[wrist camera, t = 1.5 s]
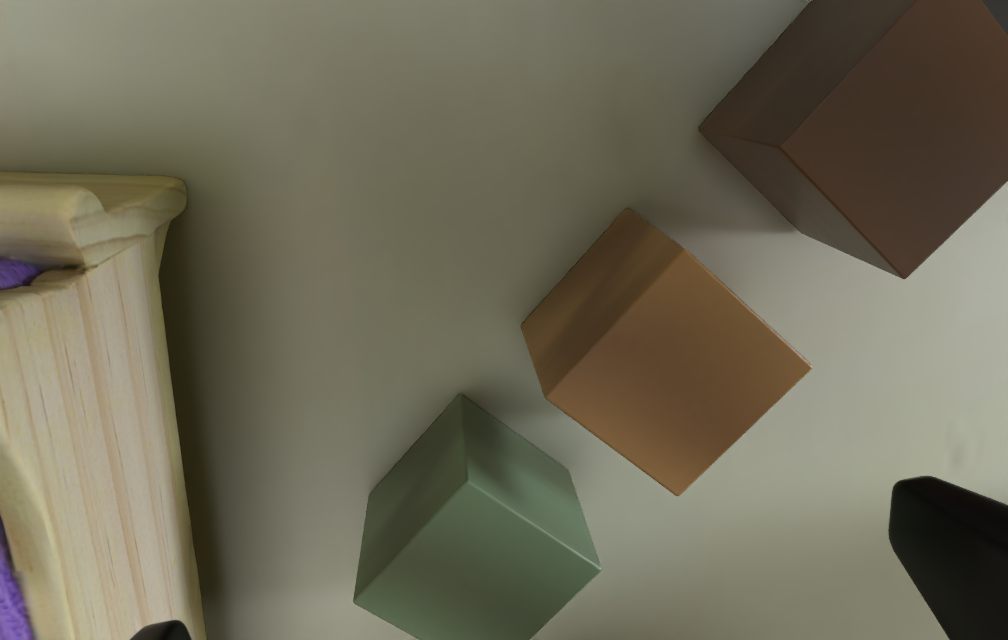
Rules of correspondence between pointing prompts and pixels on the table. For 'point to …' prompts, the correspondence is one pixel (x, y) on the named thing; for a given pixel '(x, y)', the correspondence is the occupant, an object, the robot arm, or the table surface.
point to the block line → (695, 309)
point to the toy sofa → (89, 412)
